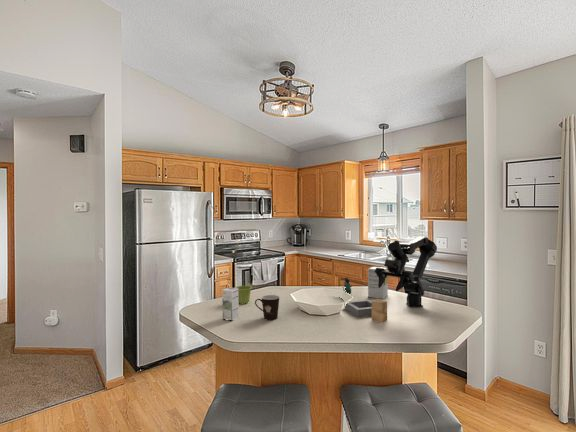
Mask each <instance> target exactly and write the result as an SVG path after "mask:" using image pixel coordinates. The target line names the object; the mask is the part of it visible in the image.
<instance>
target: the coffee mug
mask: <svg viewBox="0 0 576 432" xmlns="http://www.w3.org/2000/svg"><path fill="white" fill-rule="evenodd" d="M257 301H260V302H261V304H262V308H261V307H259V305H258V303H257ZM254 305H255V306H256V307H257V308H258V309H259V310H260V311H262V312H263V319H264V320H265V319H267V320H266V321H275V320H277V319H278V314H279V307H280V296H279V295H275V294H267V295H262V296H261V298H256V300H255V301H254Z"/></svg>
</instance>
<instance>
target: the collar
mask: <svg viewBox="0 0 576 432" xmlns="http://www.w3.org/2000/svg"><path fill="white" fill-rule="evenodd" d="M372 301H373V300H370V299H361V300H353V301H348V302H349V303H347V304H346V306H345V305H344V309H345V310H346V311H347V312H349V313H351V314H353V315H354V316H355V317H357V318H362V317H369V316H371V317H372Z"/></svg>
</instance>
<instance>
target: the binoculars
mask: <svg viewBox="0 0 576 432" xmlns="http://www.w3.org/2000/svg"><path fill="white" fill-rule="evenodd" d="M343 282H344V283H343V284H344V286H343V288H344V287H346V288H345V290H346V291H345V290H344V291H345V293H346V292H347V293H349V294H351V295H352V288H351V287H353V285H351V282H350V279H349V277H344V281H343Z"/></svg>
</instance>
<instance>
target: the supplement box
mask: <svg viewBox="0 0 576 432" xmlns="http://www.w3.org/2000/svg"><path fill="white" fill-rule="evenodd" d="M376 268H384V270H385V271H387V272H389V270H388V269H387V267H385V266H384V267H381V266H371V267H369V268H367V297H369V298H375V299H380V300H384V299H385V298H387V297H388V296H389V295H388V293H389V292H388V291H389V289H388V288H389V287H388V286H389V285H388V283H389V282H388V280H389V278H388V277H389V276H387V277H386V278H385V279H386V280H385V282H384V283H383V285H382V286H381V287H380V288H379V287H378V283H379V277H378V276H377V274H376V273H375V269H376Z"/></svg>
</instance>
